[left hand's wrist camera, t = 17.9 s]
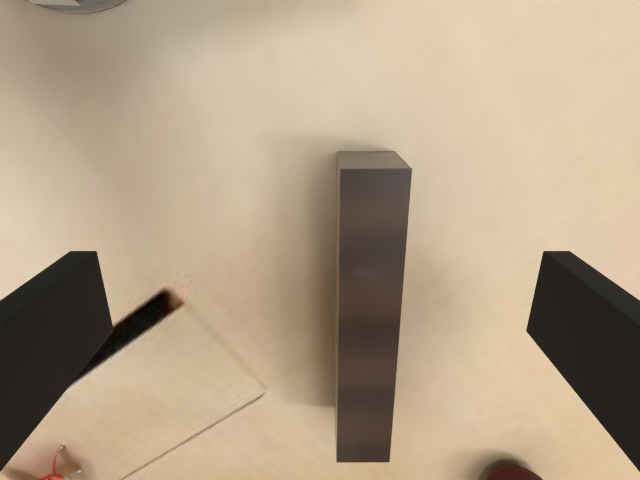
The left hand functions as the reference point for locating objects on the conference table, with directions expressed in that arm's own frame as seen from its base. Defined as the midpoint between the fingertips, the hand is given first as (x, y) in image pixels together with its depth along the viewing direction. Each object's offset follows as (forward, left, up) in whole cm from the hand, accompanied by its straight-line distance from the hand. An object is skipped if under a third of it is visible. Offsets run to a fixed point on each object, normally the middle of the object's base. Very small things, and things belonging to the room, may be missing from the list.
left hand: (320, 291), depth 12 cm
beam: (+14, +4, -25) cm, 29 cm away
